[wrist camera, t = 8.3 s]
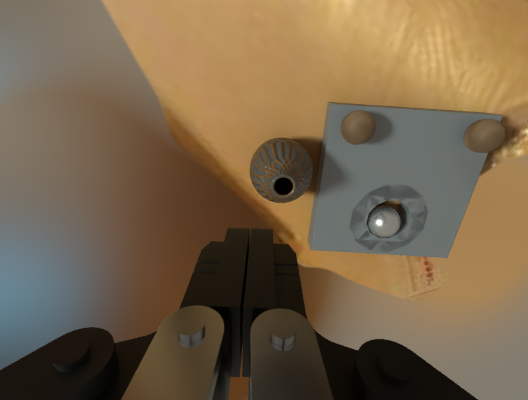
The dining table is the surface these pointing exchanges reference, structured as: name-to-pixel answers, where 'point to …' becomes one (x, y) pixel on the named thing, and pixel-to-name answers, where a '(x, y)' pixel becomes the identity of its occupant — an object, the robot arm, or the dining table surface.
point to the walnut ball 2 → (484, 135)
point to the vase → (281, 170)
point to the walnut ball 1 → (358, 127)
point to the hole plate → (395, 180)
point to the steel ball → (383, 221)
